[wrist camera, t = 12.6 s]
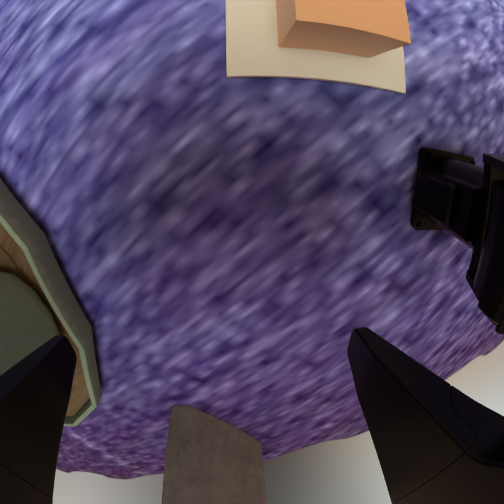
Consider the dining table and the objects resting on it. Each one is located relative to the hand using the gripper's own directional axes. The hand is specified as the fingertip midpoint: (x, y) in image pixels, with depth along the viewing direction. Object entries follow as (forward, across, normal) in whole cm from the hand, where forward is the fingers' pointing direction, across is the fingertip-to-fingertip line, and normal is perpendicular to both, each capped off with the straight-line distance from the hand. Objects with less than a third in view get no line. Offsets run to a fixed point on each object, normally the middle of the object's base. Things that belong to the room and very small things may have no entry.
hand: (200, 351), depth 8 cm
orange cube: (+11, -7, -14) cm, 19 cm away
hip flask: (+12, +2, +28) cm, 31 cm away
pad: (+12, -7, -14) cm, 20 cm away
